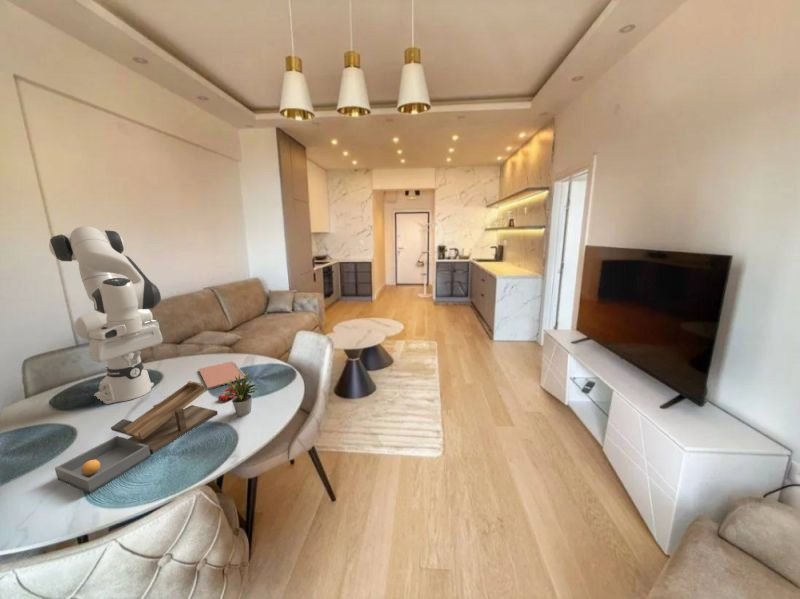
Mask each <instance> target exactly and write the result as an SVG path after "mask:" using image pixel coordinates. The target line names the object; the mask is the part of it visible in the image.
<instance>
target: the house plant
mask: <svg viewBox="0 0 800 599" xmlns="http://www.w3.org/2000/svg"><path fill="white" fill-rule="evenodd" d="M249 375H250V371H248V372H247V373H246V374H245V376H244V379H243V380H241V381H242V382H241V381H240V374H239V380H238V378H237V377H236V376H235V378H236V382H233V381H232V380H231V381H232V382H233V383H230V382H228V381H226V382H225V383H227V385H225V384H224V385H223V386H226V387H230V388H232V390H234V392H235V393H236V395H237V396H236V395H234V394H232V393H226V394H225V396H226V397H228V396H232V395H234V396H235V397H234V398H233V399H231V402H232V405H233V408H234V410H235V413H236V416H237V417H244V416H247V415H249V414H250V413H251V412H252V402H253V395H252V394H257V391H258V392H260V390H259V389H258V388H257V387H256V386H257V384H251V383H252V381H253V380H254V379H255V378H257V377H258V376H257V375H256V376H254V377H253V378H251V379H250V380H249V382H248V383H247V381H248V379H249ZM227 380H229V379H227ZM235 383H236V384H237V385H236V384H235ZM241 383H242V385H241ZM233 384H234V385H235V386H234V385H233ZM218 385H220V384H218ZM230 390H231V389H230ZM226 397H225V398H226Z"/></svg>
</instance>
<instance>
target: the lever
mask: <svg viewBox="0 0 800 599" xmlns="http://www.w3.org/2000/svg"><path fill="white" fill-rule="evenodd" d="M204 393H206V388H205V386H204V385H202V382H201V383H200V382H196V381H190V380H188V382H187V383H186V384H184V385H183V386H182V387H180V388H179V389H177V390H176V391H174V392H173V393H172V394H171V395H169V396H167V397H165V399H163V400H162V401H160V402H158V403H159V404H158V403H156V404H157V405H156V404H155V405H156V406H155V407H153V406H152V408H150V409H149V410H147V411H146V412H145V413H142V415H140V416H138V417H137V418H136V419H135V420H133V421H131V420H128V419H125V418H122V419H121V420H119V421H118V422H117V423H115V424H114V425H112V426H110V429H111V431H113V432H117V433H119V434H123V435H126V436H129V437H136V438H139V439H142V440H143V439H144V438H145V437H147V436H148V435H149V434H151V433H152V432H153V431H155V430H156V429H157V428H158V427H160V426H161V425H162V424H164V423H165V422H166V421H168V420H169V419H170V418H172V417H173V416H174V415H175V411H176V410H178V409H180V408H181V409H185V408H187V407H188V405H190V404H191V403H192V402H194V401H195V400H196V399H197V398H199V397H201V395H203V394H204Z"/></svg>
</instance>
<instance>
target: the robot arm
mask: <svg viewBox="0 0 800 599" xmlns="http://www.w3.org/2000/svg"><path fill="white" fill-rule="evenodd" d="M48 247H49V248H48V249H49V251H50V253H51V254H52V255H53V257H55V258H56V260H58V261H61V262H73V261H77V263H78V270H79V275H80V278H81V279H80V280H81V282H82V285H83V287H84V289H85V292H86V295H87V297H88V299H89V300H90V301H92V302H93V308H94V311H96V312H91V313H88V314H86V315H82V316H79V317H78V318H77V319H76V321H75V322H74V325H73V328H74V329H73V330H74V332H75V334H76V335H77V337H79V338H81V339H82V340H85V341H88V342H89V344H88V346H89V348H88V350H89V356H90V359H91V361H93V362H96V363H98V364H99V363H103V362H106V363H107V366H106V367H105V370H106V376H105V377H104V378H103V379H102V380H101V381H100V382H99V386H98V391H97V392H95V393H94V395H93V397H95V396H96V397H97V398H96V397H95V398H96V399H97V400H99V399H100V400H99V401H100V402H102V401H103V402H102V403H104V404H105V405H110V404H113V403H119V402H125V401H131V400H133V399H134V400H135V399H137V398H139V397H142V396H144V395H146V394H148V393H149V392H151V390H152V387H153V386H154V385H155V384H154V383H155V382H152V381H151V379H150V377H149V373H148V370H147V369H145V368H144V362H143V360H142V358H141V354H142V351H141V350H145V349H148V348H151V347H153V346H157V345H160V344H162V342H163V341H164V340H163V339H164V338H163V336H162V332H161V330H160V323H159V322H158V321H157V320H154V318H153V312H152V311H151V310H154V308H155V307H157V306H158V305H159V303H160V302H161V301H162V300H161V299H162V296H161V292H160V290H159V288H158V287H157V285H156V284H155V283H153V282H152V281H151V280H150V279H149V278H148V277H147V276H146V275H145V273H144V272H143V271H142V270H141V268H139V266H138V265H137V264H136V263H135V261H134V260H133V259H132V258H130V257H129V256H128V255H125V254H123V252H124V248H125V241H124V239H123V237H122V236H121V235H120V234H119V233H118V232H117V231H116V230H115V231H114V230H109V229H108V230H106V229H105V230H100V229H98V228H96V227H93V226H88V225H83V226H78V227H76V228H75V229H73V230H72V231H71V232H70V233H65V234H57V235H54V236H51V238H50V239H49V244H48ZM118 275H121V276H124V277H118Z"/></svg>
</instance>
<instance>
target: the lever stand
mask: <svg viewBox="0 0 800 599" xmlns="http://www.w3.org/2000/svg"><path fill="white" fill-rule="evenodd" d="M159 403H160V402H158V403H156V404H154V405H153V406H152V408H153V407H155V406H156V405H157V404H159ZM218 413H219V412H218V410H215V409H210V408H206V407H203V406H202V407H201V406H197V405H195V404H194V405H193V404H191V405H189V406H186V407H185V408H183V409H181V408H180V409H178V410H176V411H175V415H174V416H173V417H172V418H170V419H169V420H168V421H166V422H165V423H164V424H162V425H161V426H160V427H158V428H157V429H156V430H155V431H153V432H152V433H151V434H149V435H148V436H147V437H145V438H144V439H143V440H142V439H139V438H136V437H132V436H130V437H129V438H128V439H129V440H132V441H135V442H138V443H141V444H145V445H148V446H149V450H150V452H152V453H151V454H153V453H154V454H156V453H157V452H159V451H160V450H162V449H163V448H165V447H166V445H167V446H169V445H170V444H172V443H173V442H175V441H177V440H178V439H179V437H180V436H181V437H183V436H184V435H183V434H185V433H186V434H188V433H189V432H188V431H190V430H191V431H193V430H194V429H193V428H195V427H196V428H198V427H199V426H201V425H203V424H204V423H206V422H209V421H210V419H212V418H214V417H216V416H218V415H219V414H218ZM202 423H203V424H202ZM197 426H198V427H197ZM196 428H195V429H196ZM192 429H193V430H192ZM191 431H190V432H191ZM187 432H188V433H187ZM186 434H185V435H186ZM182 435H183V436H182ZM181 437H180V438H181ZM177 438H178V439H177ZM176 439H177V440H176ZM174 440H175V441H174ZM171 442H172V443H171ZM164 446H165V447H164ZM162 447H163V448H162ZM161 448H162V449H161ZM159 449H160V450H159ZM158 450H159V451H158ZM156 451H157V452H156Z"/></svg>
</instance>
